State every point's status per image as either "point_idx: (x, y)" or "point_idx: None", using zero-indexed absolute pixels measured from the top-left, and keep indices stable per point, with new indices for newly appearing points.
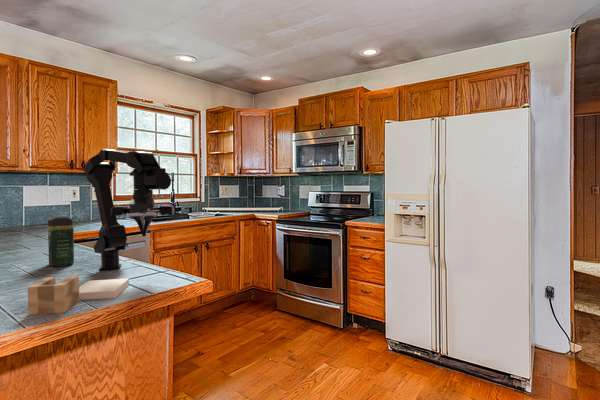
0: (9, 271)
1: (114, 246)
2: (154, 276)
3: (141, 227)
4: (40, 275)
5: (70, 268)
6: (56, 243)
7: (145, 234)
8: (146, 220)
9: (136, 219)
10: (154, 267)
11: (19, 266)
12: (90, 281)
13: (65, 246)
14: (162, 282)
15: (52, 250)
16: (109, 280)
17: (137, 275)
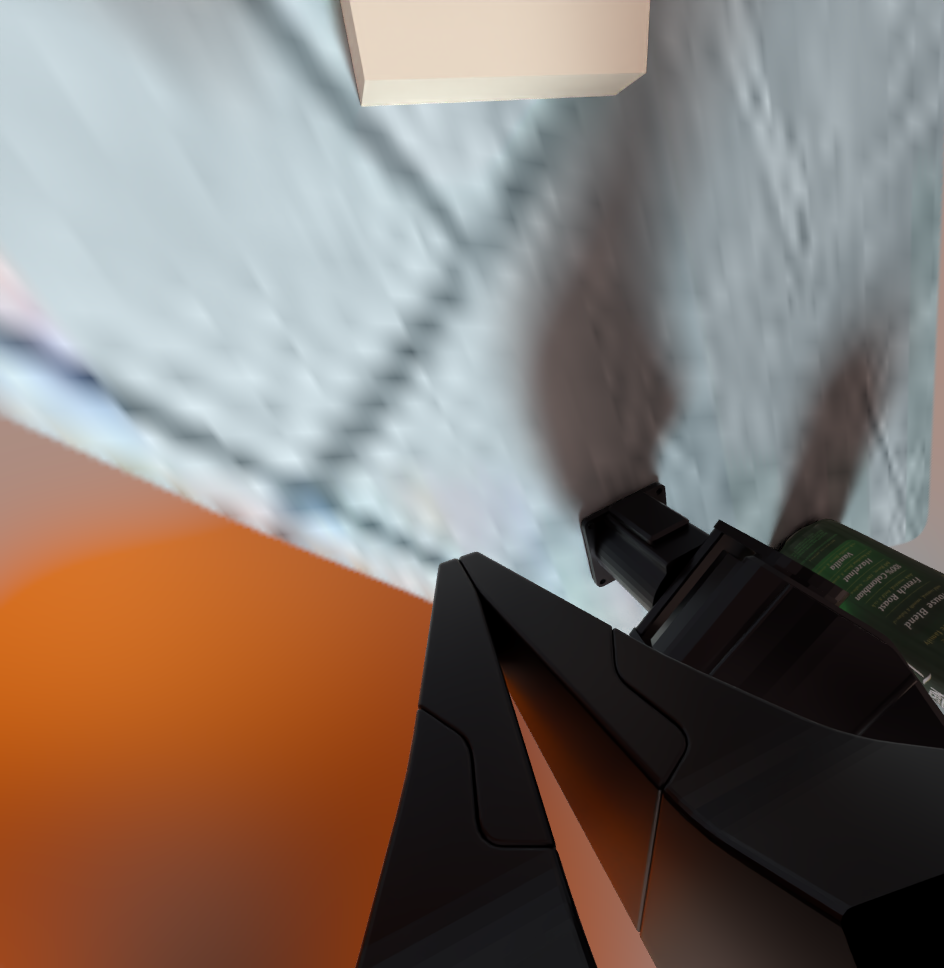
0: (922, 447)
1: (694, 587)
2: (292, 372)
3: (553, 636)
4: (844, 392)
5: (765, 508)
6: (933, 583)
7: (437, 577)
8: (493, 954)
9: (933, 789)
10: (413, 578)
11: (899, 513)
12: (628, 31)
13: (881, 592)
14: (79, 151)
15: (903, 555)
16: (502, 33)
17: (428, 398)
